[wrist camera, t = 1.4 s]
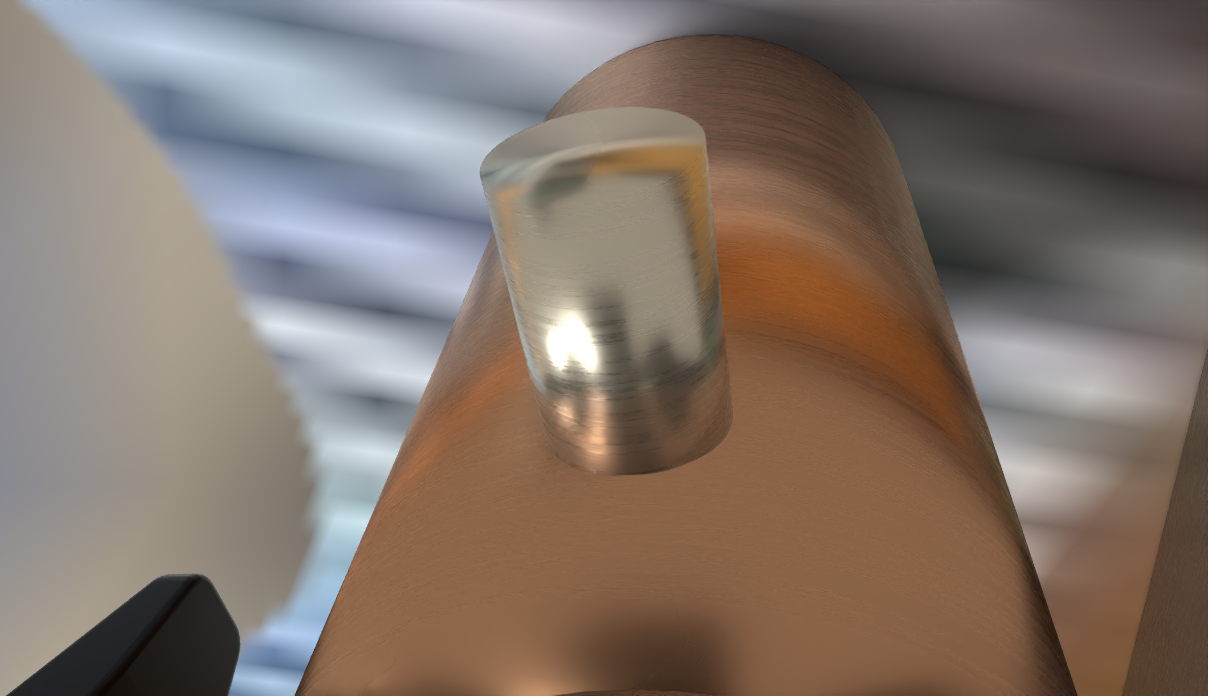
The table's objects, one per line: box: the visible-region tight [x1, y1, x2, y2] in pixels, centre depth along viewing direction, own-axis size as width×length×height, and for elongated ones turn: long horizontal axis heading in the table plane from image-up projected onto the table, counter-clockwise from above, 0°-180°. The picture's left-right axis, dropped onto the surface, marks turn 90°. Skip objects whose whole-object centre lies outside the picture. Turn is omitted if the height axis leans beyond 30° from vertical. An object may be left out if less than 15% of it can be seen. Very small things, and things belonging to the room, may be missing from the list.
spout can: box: [295, 35, 1077, 696], centre depth 9 cm, size 7×6×10 cm
